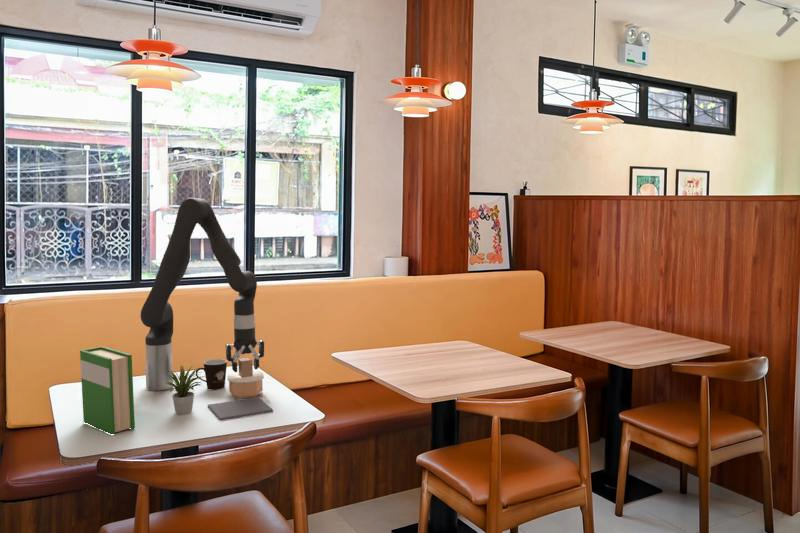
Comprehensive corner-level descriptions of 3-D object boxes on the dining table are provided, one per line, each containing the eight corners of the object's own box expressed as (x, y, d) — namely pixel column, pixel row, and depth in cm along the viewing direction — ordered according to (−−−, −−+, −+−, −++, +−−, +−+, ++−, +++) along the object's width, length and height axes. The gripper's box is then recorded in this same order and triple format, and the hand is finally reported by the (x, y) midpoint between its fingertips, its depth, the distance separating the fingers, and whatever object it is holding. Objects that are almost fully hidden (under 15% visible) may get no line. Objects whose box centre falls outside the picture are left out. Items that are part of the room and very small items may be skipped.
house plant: (186, 423, 214) (184, 373, 212) (151, 417, 218) (149, 369, 217) (213, 409, 227) (211, 363, 225) (179, 405, 232) (178, 359, 230)
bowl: (235, 400, 237) (235, 384, 236) (227, 392, 246) (226, 376, 246) (265, 395, 242) (265, 379, 242) (256, 388, 252) (255, 372, 251)
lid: (233, 385, 235) (232, 365, 234) (223, 376, 246) (222, 357, 245) (268, 380, 241) (268, 361, 241) (257, 371, 253) (257, 353, 252)
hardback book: (134, 429, 208) (131, 354, 205) (112, 436, 202) (108, 359, 199) (106, 417, 219) (102, 346, 216) (83, 423, 213) (79, 350, 210)
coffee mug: (226, 383, 258) (226, 358, 257) (228, 389, 250) (227, 363, 249) (195, 386, 254) (194, 360, 253) (196, 392, 246) (195, 366, 245)
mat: (219, 420, 216) (219, 418, 216) (207, 406, 230) (207, 404, 230) (273, 411, 225) (273, 409, 225) (258, 399, 239) (258, 396, 238)
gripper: (260, 322, 248) (261, 365, 250) (222, 326, 241) (223, 370, 243) (266, 326, 242) (267, 370, 244) (227, 330, 235) (229, 375, 237)
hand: (245, 370), depth 243 cm, fingers open, 7 cm apart
